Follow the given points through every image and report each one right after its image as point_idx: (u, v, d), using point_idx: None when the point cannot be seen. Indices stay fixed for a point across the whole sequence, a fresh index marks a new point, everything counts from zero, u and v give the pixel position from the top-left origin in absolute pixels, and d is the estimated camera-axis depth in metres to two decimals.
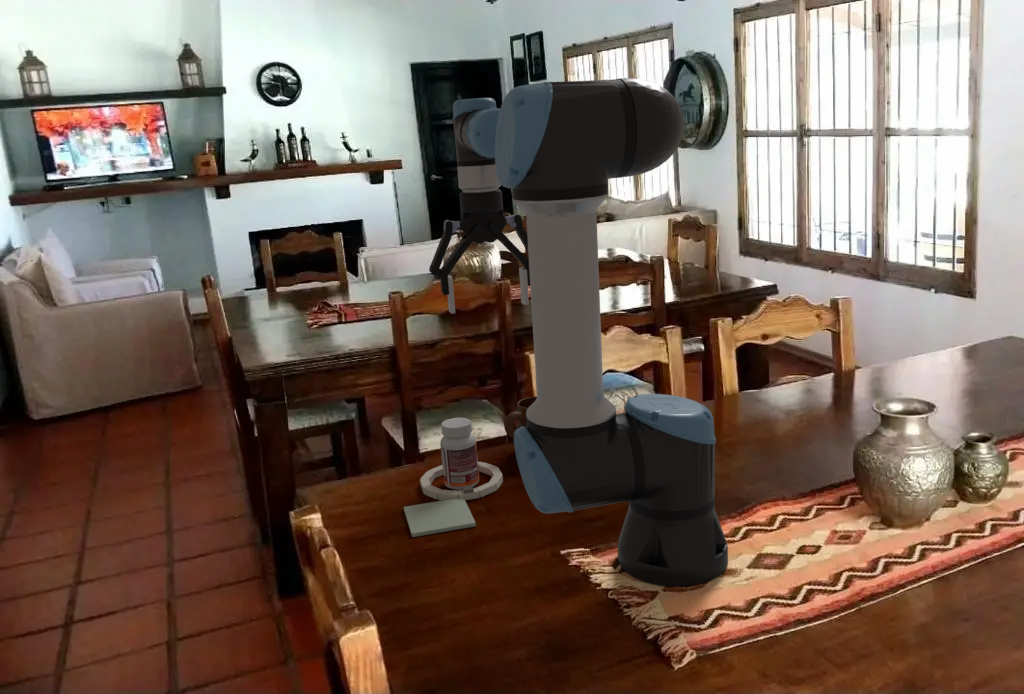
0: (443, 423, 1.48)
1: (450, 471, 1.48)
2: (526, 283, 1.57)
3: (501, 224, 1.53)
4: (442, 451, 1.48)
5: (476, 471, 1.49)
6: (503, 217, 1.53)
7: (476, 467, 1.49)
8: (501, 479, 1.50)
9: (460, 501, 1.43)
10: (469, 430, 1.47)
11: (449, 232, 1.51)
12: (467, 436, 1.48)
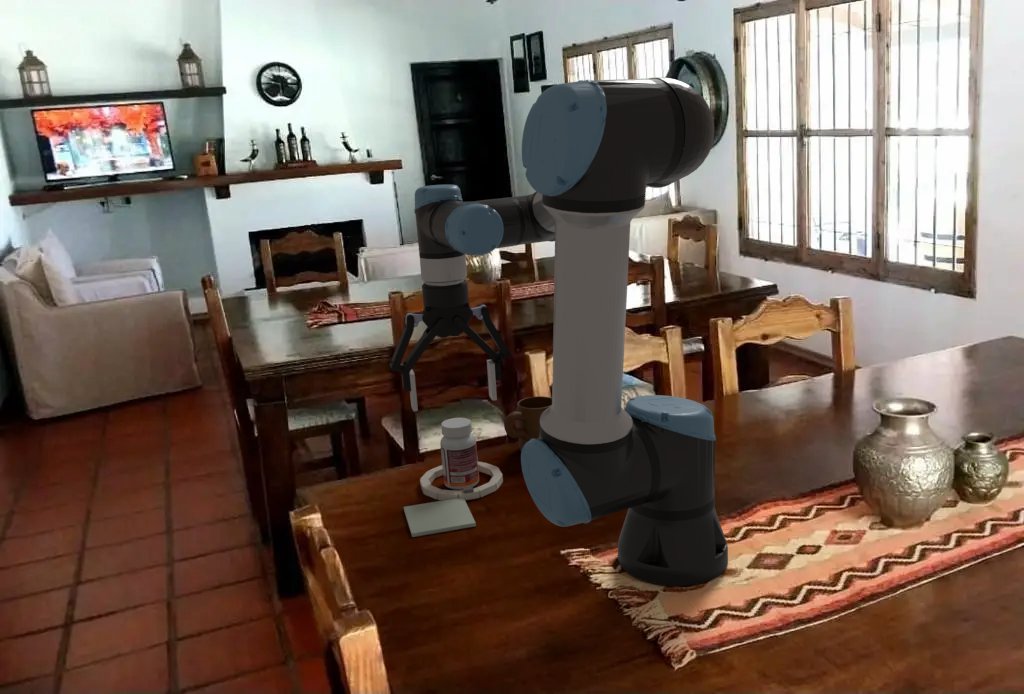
0: (443, 423, 1.48)
1: (450, 471, 1.48)
2: (494, 378, 1.47)
3: (467, 317, 1.43)
4: (442, 451, 1.48)
5: (476, 471, 1.49)
6: (469, 310, 1.43)
7: (476, 467, 1.49)
8: (501, 479, 1.50)
9: (460, 501, 1.43)
10: (469, 430, 1.47)
11: (411, 327, 1.41)
12: (467, 436, 1.48)
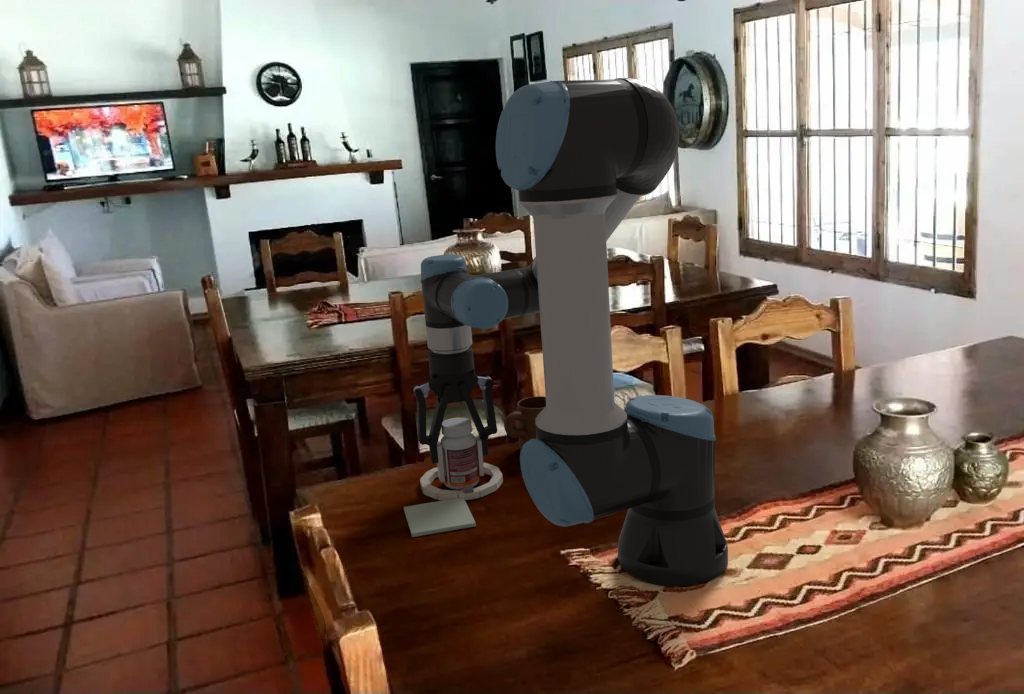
0: (443, 423, 1.48)
1: (450, 471, 1.48)
2: (481, 454, 1.49)
3: (471, 383, 1.46)
4: (442, 451, 1.48)
5: (476, 471, 1.49)
6: (476, 377, 1.46)
7: (476, 467, 1.49)
8: (501, 479, 1.50)
9: (460, 501, 1.43)
10: (469, 430, 1.47)
11: (422, 399, 1.45)
12: (467, 436, 1.48)
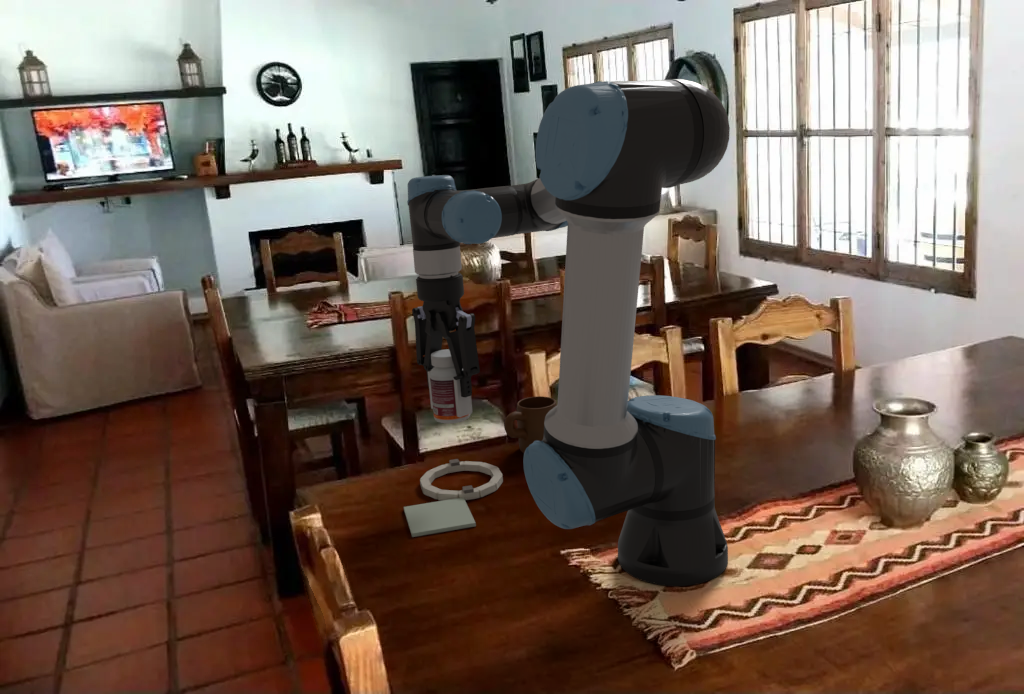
0: (439, 350, 1.44)
1: (432, 400, 1.44)
2: (456, 393, 1.40)
3: (448, 315, 1.38)
4: None
5: (452, 409, 1.41)
6: (451, 310, 1.37)
7: (452, 405, 1.41)
8: (501, 479, 1.50)
9: (460, 501, 1.43)
10: (446, 363, 1.40)
11: (416, 319, 1.44)
12: (445, 369, 1.41)
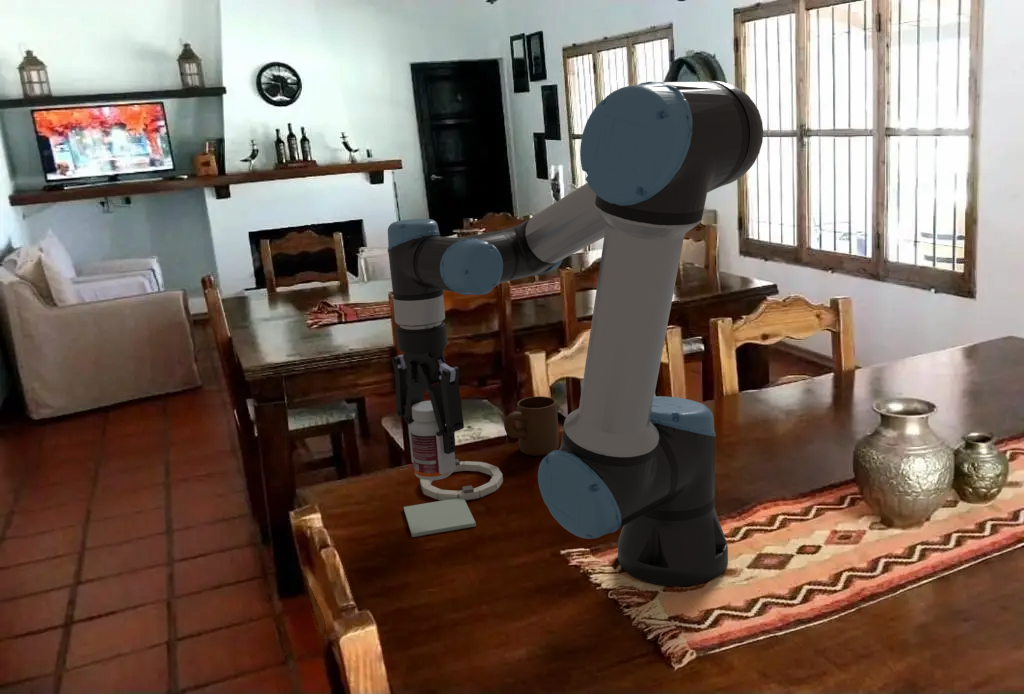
0: (420, 402, 1.36)
1: None
2: (439, 450, 1.32)
3: (430, 368, 1.29)
4: None
5: (434, 465, 1.33)
6: (434, 362, 1.28)
7: (434, 461, 1.33)
8: (501, 479, 1.50)
9: (460, 501, 1.43)
10: (428, 418, 1.32)
11: (396, 369, 1.36)
12: (427, 424, 1.32)
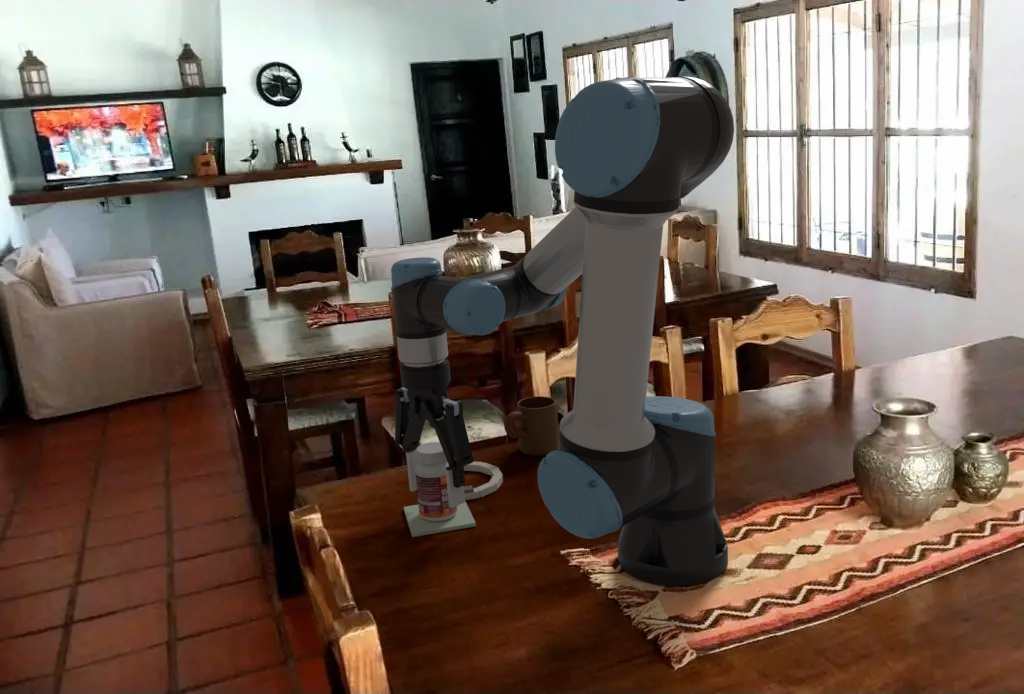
0: (425, 444, 1.38)
1: None
2: (449, 483, 1.32)
3: (434, 404, 1.31)
4: None
5: (438, 506, 1.35)
6: (437, 399, 1.30)
7: (439, 502, 1.35)
8: (501, 479, 1.50)
9: None
10: (432, 460, 1.34)
11: (398, 401, 1.37)
12: (432, 465, 1.34)
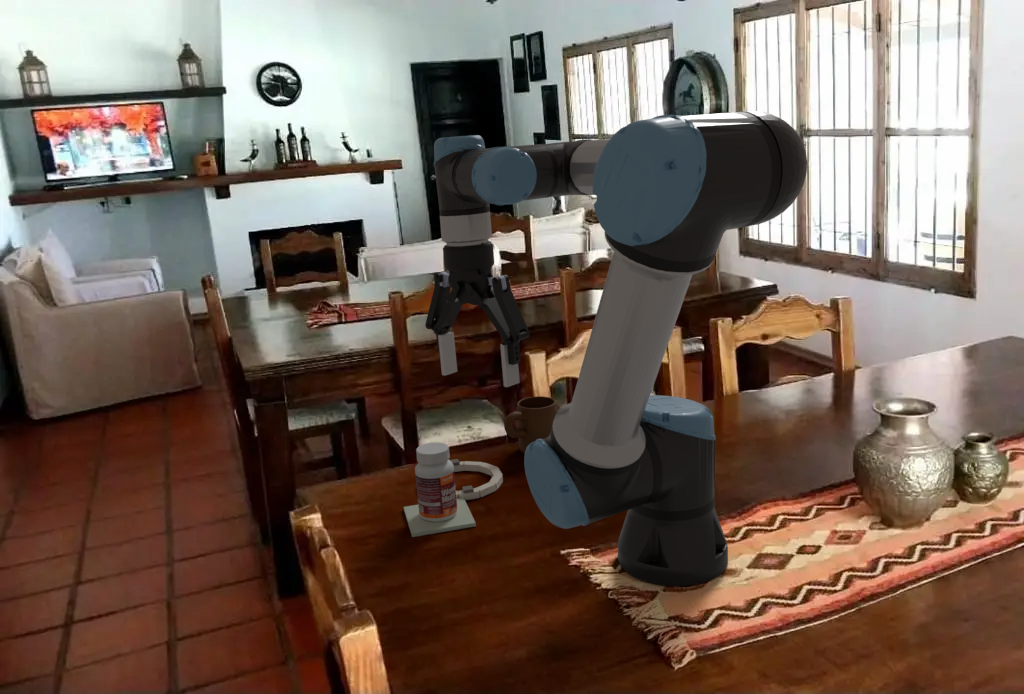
0: (424, 444, 1.37)
1: None
2: (504, 361, 1.28)
3: (480, 286, 1.28)
4: None
5: (438, 507, 1.35)
6: (482, 278, 1.27)
7: (439, 503, 1.35)
8: (501, 479, 1.50)
9: (460, 501, 1.43)
10: (432, 461, 1.34)
11: (437, 286, 1.34)
12: (432, 466, 1.34)
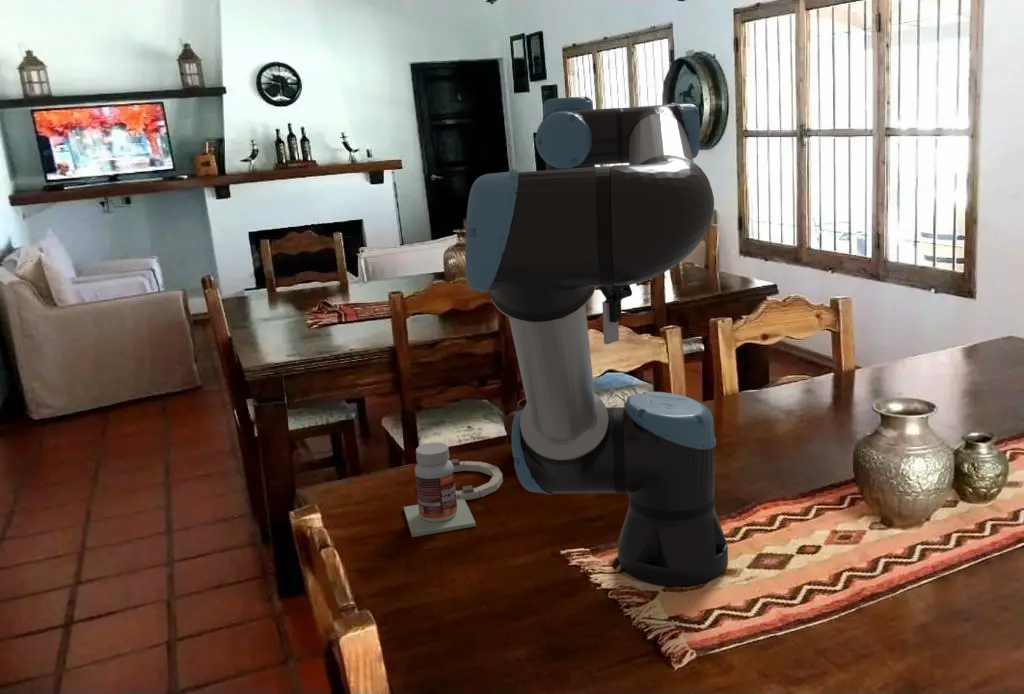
0: (424, 444, 1.37)
1: None
2: (605, 318, 1.31)
3: None
4: None
5: (438, 507, 1.35)
6: None
7: (439, 503, 1.35)
8: (501, 479, 1.50)
9: (460, 501, 1.43)
10: (432, 461, 1.34)
11: None
12: (431, 466, 1.34)
